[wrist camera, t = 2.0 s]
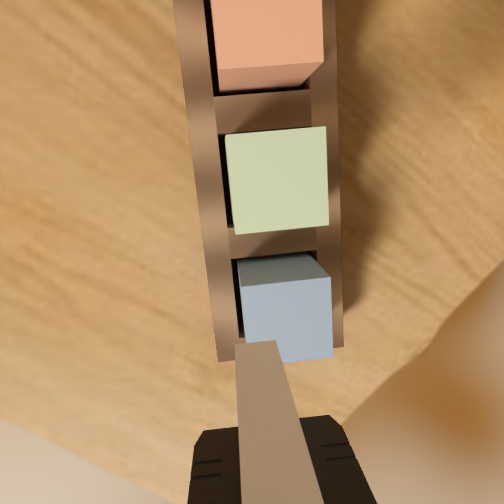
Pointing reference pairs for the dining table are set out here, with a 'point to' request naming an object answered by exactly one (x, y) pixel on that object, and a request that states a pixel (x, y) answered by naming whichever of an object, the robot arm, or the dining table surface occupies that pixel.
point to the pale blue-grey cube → (287, 304)
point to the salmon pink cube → (266, 43)
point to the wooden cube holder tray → (248, 121)
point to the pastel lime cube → (278, 179)
